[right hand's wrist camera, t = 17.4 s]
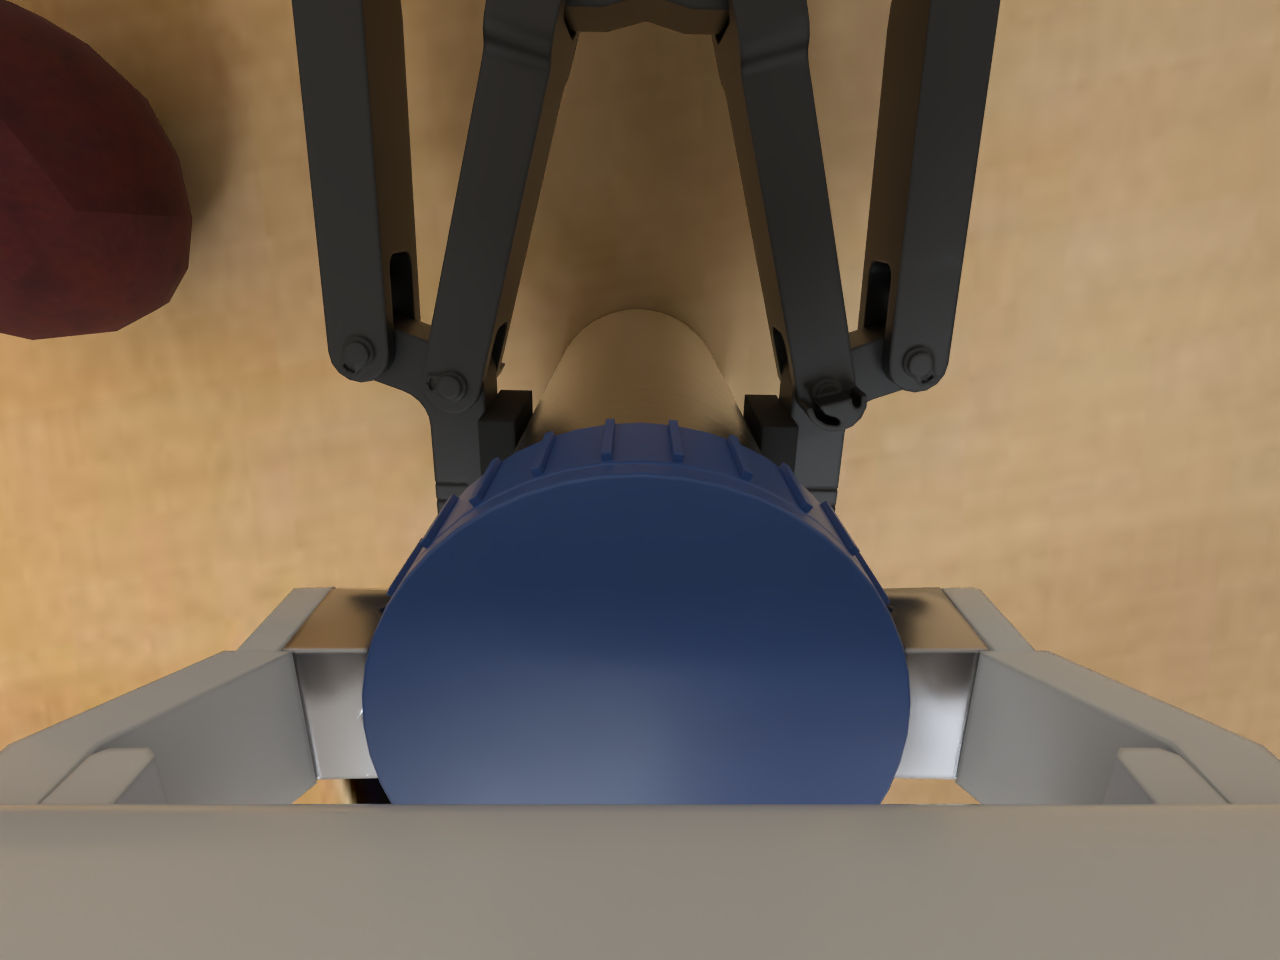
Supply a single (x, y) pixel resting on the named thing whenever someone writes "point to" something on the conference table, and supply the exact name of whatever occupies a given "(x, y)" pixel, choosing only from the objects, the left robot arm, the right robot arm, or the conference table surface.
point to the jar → (637, 381)
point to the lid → (636, 636)
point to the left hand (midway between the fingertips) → (633, 653)
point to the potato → (81, 189)
